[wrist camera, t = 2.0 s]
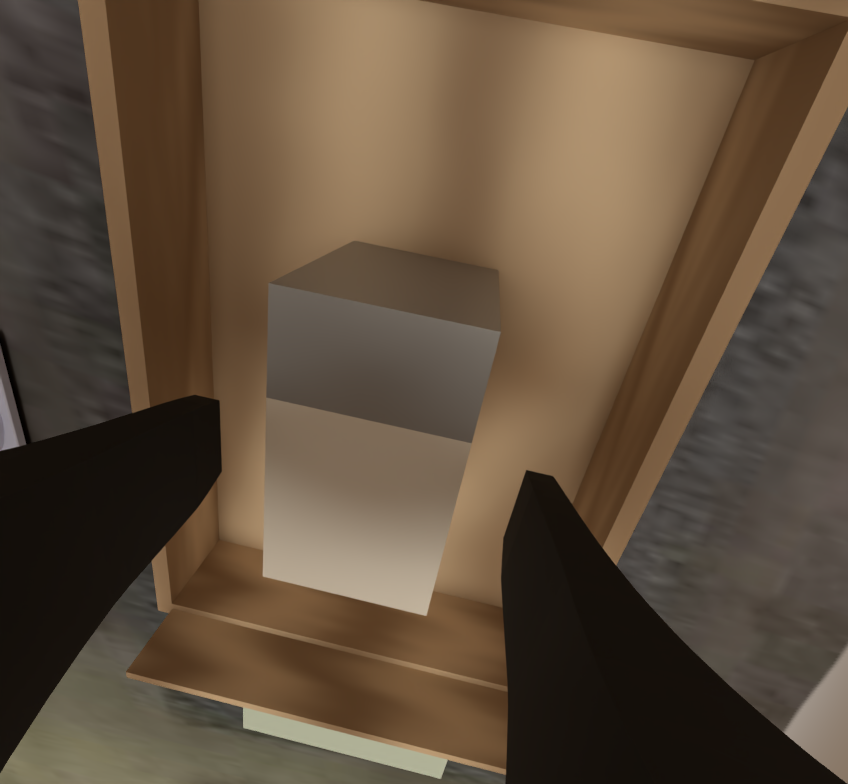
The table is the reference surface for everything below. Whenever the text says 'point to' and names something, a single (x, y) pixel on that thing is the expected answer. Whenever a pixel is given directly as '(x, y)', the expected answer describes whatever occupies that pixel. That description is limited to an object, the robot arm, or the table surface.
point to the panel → (343, 743)
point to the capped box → (372, 417)
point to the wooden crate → (453, 240)
